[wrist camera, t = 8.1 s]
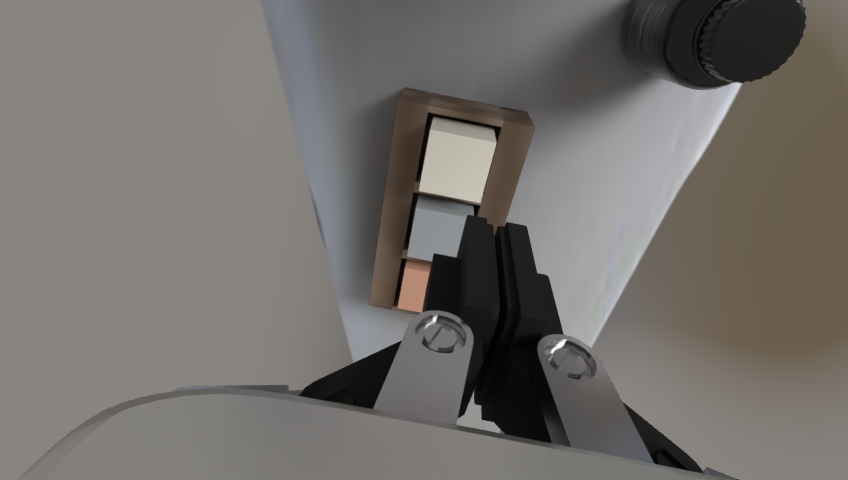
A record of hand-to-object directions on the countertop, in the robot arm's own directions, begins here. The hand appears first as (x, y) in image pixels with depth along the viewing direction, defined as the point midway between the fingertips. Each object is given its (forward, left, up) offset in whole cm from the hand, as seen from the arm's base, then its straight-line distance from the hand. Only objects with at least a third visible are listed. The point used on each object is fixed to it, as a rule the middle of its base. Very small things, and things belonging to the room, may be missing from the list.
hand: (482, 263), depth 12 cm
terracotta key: (+19, 0, -26) cm, 32 cm away
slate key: (+12, 0, -25) cm, 28 cm away
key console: (+12, 0, -28) cm, 31 cm away
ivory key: (+5, 0, -24) cm, 25 cm away
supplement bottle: (-7, +14, -29) cm, 33 cm away
